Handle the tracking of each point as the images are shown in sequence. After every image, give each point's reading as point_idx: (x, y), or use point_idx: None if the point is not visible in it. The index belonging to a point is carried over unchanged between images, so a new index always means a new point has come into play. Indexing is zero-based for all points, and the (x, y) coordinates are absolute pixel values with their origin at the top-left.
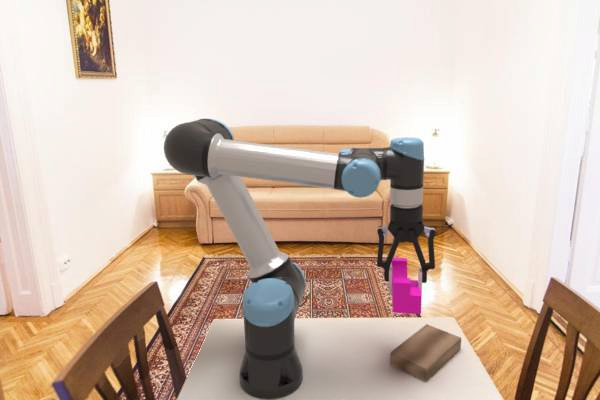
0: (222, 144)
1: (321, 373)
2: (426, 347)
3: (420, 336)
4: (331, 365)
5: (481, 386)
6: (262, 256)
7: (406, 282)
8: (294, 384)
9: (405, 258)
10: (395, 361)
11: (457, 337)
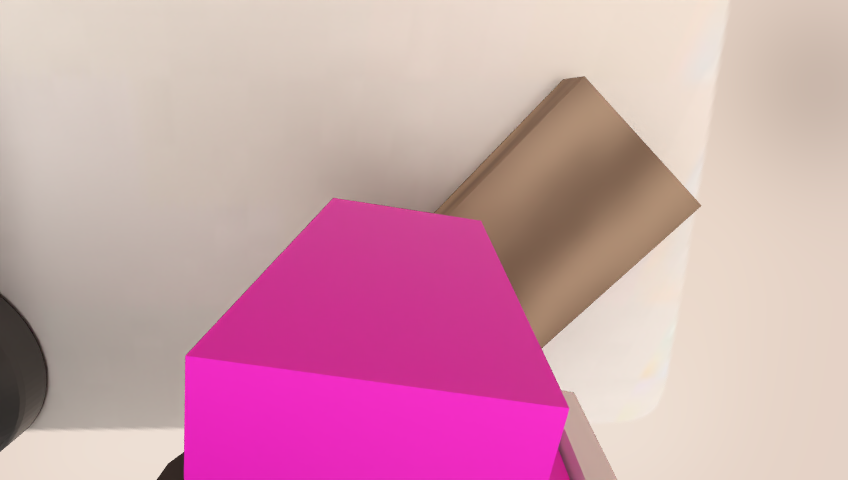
0: None
1: (109, 336)
2: (515, 278)
3: (515, 195)
4: (139, 293)
5: (638, 391)
6: None
7: None
8: (16, 435)
9: (525, 436)
10: None
11: (684, 202)
